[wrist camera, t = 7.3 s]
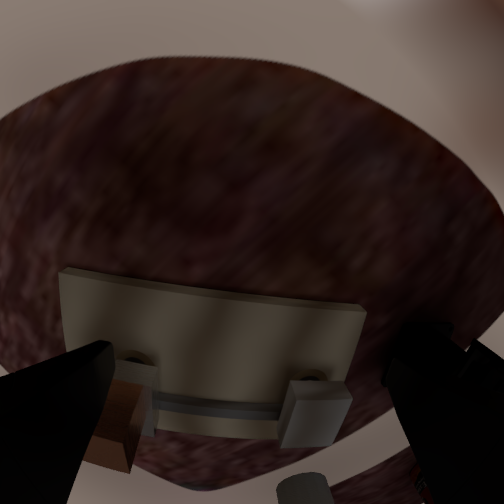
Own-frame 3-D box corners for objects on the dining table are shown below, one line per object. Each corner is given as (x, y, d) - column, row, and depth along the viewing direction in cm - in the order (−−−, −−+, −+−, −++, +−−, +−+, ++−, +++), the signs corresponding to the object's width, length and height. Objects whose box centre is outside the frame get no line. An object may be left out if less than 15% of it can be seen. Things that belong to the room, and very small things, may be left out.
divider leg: (161, 358, 19) (132, 445, 11) (161, 408, 20) (142, 491, 12) (108, 348, 18) (60, 424, 10) (114, 398, 19) (81, 474, 11)
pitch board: (358, 304, 21) (390, 334, 16) (317, 427, 24) (330, 465, 19) (68, 266, 19) (31, 289, 14) (84, 399, 21) (64, 434, 16)
